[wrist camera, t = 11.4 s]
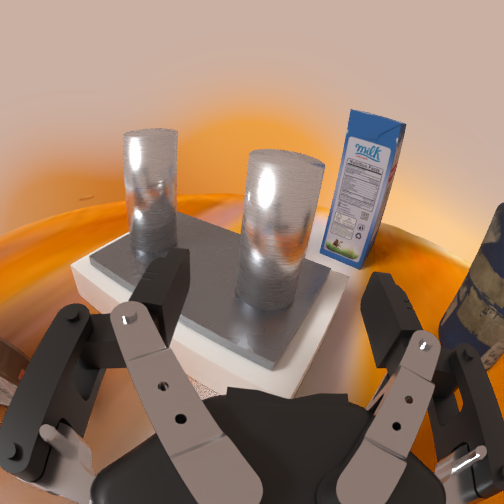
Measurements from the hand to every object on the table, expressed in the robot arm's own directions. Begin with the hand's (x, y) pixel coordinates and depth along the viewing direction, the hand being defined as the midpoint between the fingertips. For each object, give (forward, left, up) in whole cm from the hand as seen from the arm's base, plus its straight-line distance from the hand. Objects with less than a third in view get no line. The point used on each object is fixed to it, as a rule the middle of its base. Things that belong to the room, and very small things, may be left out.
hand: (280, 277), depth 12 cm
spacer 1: (-17, +8, -8) cm, 20 cm away
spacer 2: (-4, +8, -8) cm, 12 cm away
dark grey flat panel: (-10, +8, -9) cm, 16 cm away
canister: (+19, +17, -13) cm, 29 cm away
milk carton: (0, +30, -13) cm, 33 cm away
